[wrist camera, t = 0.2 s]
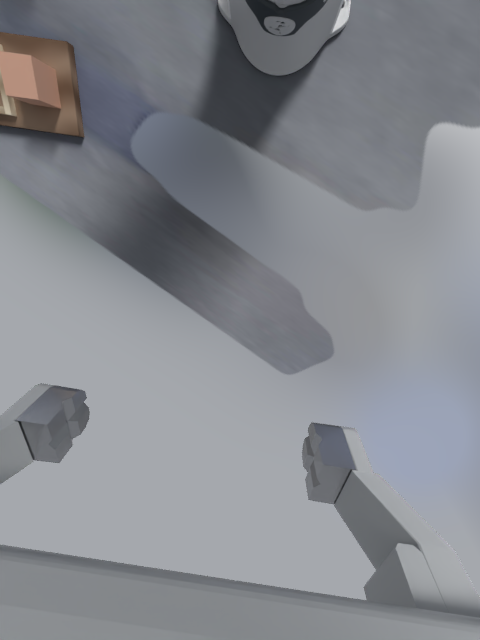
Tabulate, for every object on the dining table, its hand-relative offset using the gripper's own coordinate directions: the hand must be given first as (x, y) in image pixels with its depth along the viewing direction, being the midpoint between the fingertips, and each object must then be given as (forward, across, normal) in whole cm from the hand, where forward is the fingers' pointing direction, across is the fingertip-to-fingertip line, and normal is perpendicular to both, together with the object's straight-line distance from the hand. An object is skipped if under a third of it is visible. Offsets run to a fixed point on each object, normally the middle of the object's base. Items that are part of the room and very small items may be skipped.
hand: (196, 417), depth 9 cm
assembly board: (+48, +42, -18) cm, 66 cm away
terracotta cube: (+46, +36, -18) cm, 61 cm away
